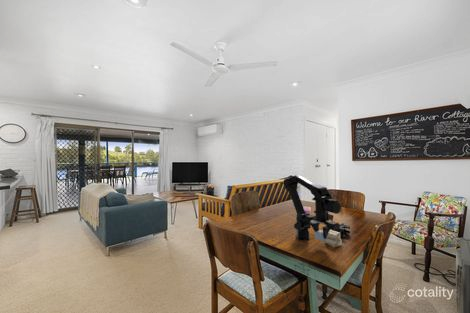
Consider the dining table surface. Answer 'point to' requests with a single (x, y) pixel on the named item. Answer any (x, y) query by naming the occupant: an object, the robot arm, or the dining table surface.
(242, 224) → the dining table surface
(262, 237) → the dining table surface
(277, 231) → the dining table surface
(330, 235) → the tower top
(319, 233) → the blue block
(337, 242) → the tower base
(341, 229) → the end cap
